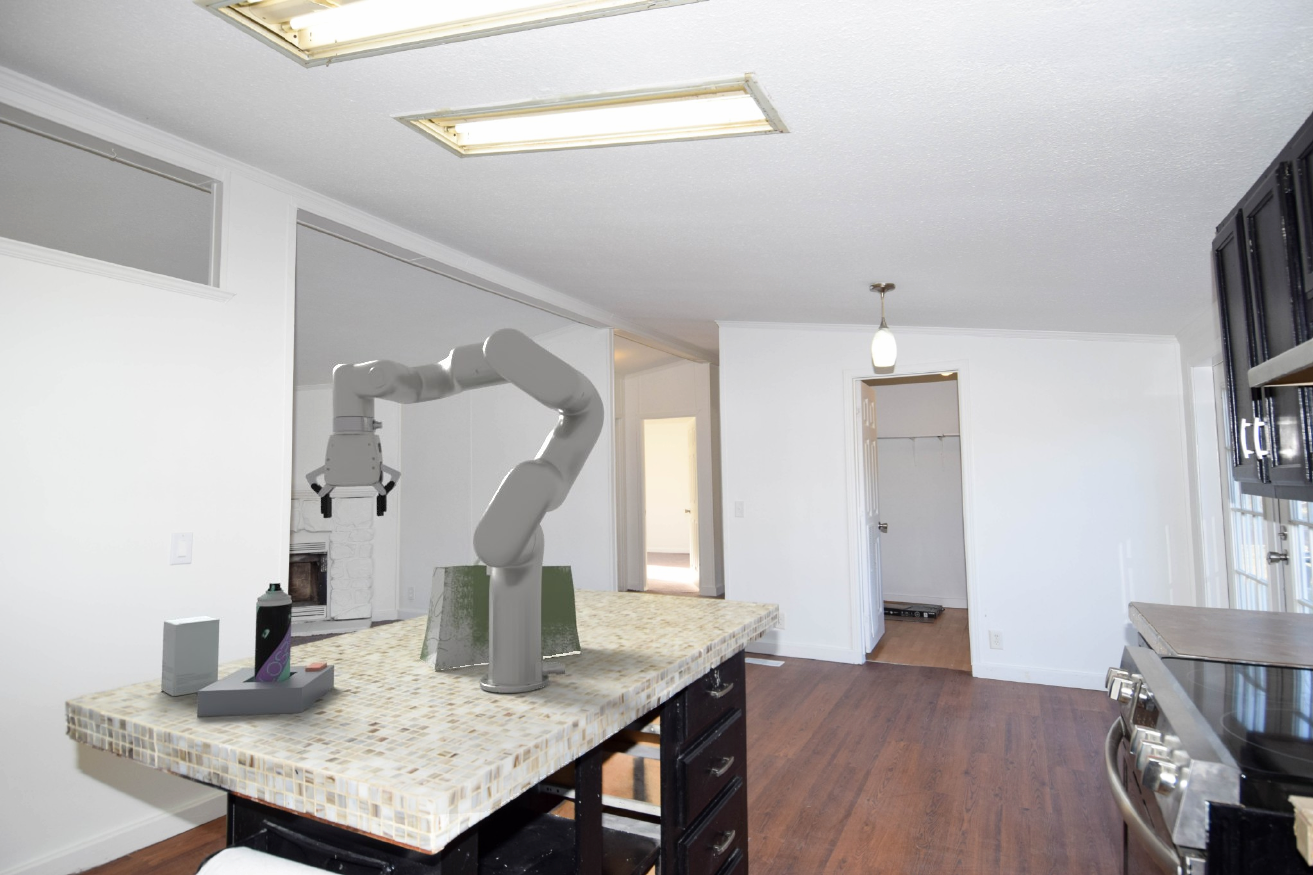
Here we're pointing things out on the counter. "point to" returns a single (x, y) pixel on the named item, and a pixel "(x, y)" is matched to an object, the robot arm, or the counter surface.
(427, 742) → the counter surface
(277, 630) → the spray can
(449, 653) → the grocery bag
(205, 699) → the socket plate
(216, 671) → the supplement box
